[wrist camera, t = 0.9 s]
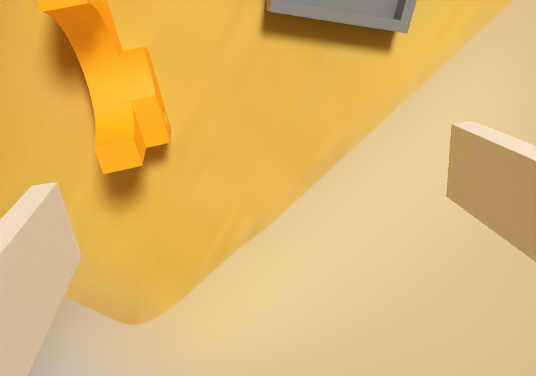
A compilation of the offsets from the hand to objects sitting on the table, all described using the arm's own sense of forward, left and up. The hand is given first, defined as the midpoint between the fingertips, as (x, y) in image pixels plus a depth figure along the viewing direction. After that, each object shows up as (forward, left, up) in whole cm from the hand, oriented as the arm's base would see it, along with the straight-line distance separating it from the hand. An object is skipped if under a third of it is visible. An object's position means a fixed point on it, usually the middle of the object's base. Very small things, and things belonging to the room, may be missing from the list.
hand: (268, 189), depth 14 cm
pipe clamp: (0, -7, -21) cm, 22 cm away
